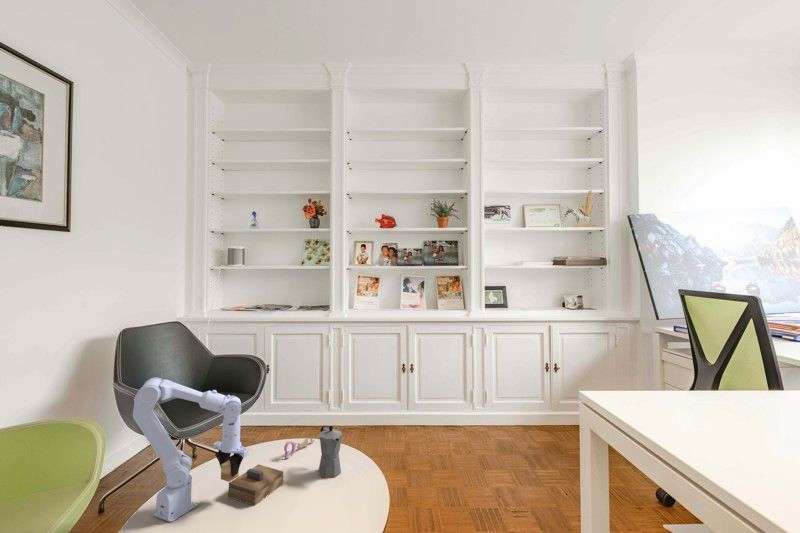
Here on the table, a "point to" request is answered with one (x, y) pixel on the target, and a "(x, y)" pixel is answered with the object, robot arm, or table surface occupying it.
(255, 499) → the brown shallow open box
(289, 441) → the decorative key
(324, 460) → the coffeepot
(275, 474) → the lid
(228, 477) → the wooden block
